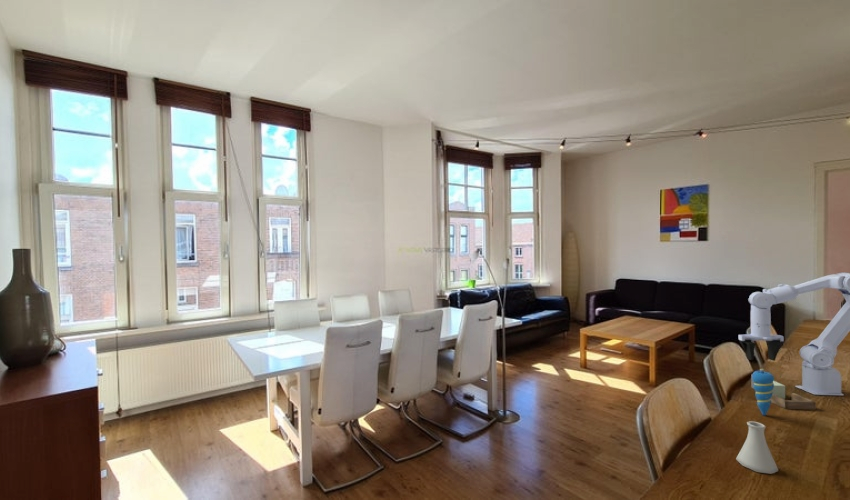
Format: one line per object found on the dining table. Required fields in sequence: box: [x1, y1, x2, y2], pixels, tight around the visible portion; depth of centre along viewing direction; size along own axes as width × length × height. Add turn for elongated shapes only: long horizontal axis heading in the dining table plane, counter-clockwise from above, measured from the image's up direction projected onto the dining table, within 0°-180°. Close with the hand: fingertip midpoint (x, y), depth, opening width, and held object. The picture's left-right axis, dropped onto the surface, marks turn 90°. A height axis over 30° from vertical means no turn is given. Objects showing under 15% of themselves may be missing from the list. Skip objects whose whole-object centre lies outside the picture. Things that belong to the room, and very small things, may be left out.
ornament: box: [752, 368, 775, 416], centre depth 116 cm, size 5×5×15 cm
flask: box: [735, 421, 779, 475], centre depth 90 cm, size 7×7×10 cm
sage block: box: [750, 373, 786, 400], centre depth 134 cm, size 10×5×5 cm, turn 175°
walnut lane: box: [771, 392, 817, 410], centre depth 124 cm, size 8×9×2 cm
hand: (760, 359), depth 142 cm, fingers open, 7 cm apart
